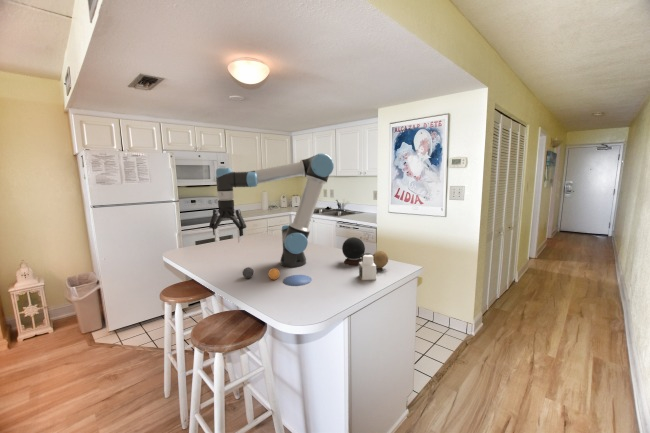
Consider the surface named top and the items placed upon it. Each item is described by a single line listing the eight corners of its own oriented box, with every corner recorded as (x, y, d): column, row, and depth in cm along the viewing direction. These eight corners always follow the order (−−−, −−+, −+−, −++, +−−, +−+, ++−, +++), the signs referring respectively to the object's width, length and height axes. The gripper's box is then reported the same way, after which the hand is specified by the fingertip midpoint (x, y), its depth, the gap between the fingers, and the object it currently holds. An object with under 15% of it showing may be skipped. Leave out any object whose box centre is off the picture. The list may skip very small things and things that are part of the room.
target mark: (314, 275, 147) (314, 275, 147) (307, 286, 133) (307, 286, 133) (288, 274, 149) (288, 274, 149) (279, 285, 136) (279, 284, 136)
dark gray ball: (255, 276, 148) (255, 266, 148) (251, 280, 143) (250, 269, 142) (245, 275, 149) (245, 265, 149) (240, 279, 144) (240, 269, 143)
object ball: (281, 277, 146) (280, 267, 145) (277, 281, 140) (277, 270, 140) (271, 276, 147) (270, 266, 146) (267, 280, 141) (266, 270, 141)
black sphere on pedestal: (339, 265, 163) (339, 239, 161) (345, 258, 175) (345, 234, 173) (362, 267, 158) (362, 240, 156) (367, 260, 170) (367, 235, 168)
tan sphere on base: (390, 271, 151) (390, 252, 149) (373, 271, 150) (373, 253, 149) (385, 265, 160) (385, 248, 158) (369, 266, 159) (369, 249, 158)
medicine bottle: (359, 275, 146) (358, 252, 144) (372, 274, 146) (372, 251, 145) (362, 280, 139) (361, 256, 137) (376, 279, 139) (376, 255, 138)
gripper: (199, 200, 141) (202, 242, 144) (244, 200, 136) (247, 244, 139) (208, 198, 148) (211, 239, 151) (251, 198, 144) (254, 240, 147)
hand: (228, 241), depth 145 cm, fingers open, 12 cm apart
